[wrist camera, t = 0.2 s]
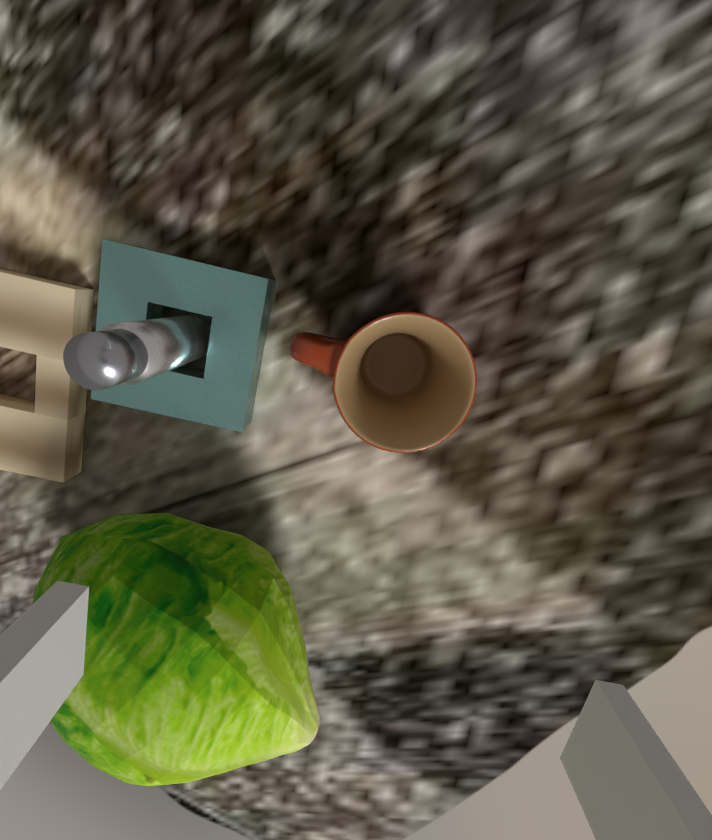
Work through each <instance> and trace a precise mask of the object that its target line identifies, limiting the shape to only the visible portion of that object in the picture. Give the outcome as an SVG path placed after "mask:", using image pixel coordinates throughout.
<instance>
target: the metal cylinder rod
mask: <svg viewBox="0 0 712 840" xmlns="http://www.w3.org/2000/svg"><path fill="white" fill-rule="evenodd" d="M209 337H210V328H209V326H208V325H207V323H206V322H205V321H203V320H202V319H200V318H199V317H196V316H193V315H184V316H175V317H166V318H158V319H149V320H140V321H131V322H122V323H114V324H109V325H106V326H104V327H103V328H101V329H100V330H99V331H95V332H88V333H82V334H78V335H76V336H74V337H73V338H71V339H70V340H69V341H68V343H67V344H66V346H65V348H64V352H63V362H64V366H65V369H66V371H67V373H68V374H69V376H70V377H71V378H72V380H73V381H75V382H76V383H77V384H78V385H80V386H82V387H83V388H86V389H89V390H94V391H100V390H105V389H108V388H111V387H113V386H116V385H119V384H120V385H133V384H136V383H139V382H141V381H144V380H146V379H149V378H151V377H154V376H156V375H159V374H161V373H164V372H167V371H169V370H172V369H174V368H177V367H179V366H182V365H184V364H187V363H189V362H192V361H194V360H197V359H199V358H202V357H204V356H205V355H206V354H207V351H208V344H209Z"/></svg>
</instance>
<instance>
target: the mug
mask: <svg viewBox="0 0 712 840" xmlns="http://www.w3.org/2000/svg"><path fill="white" fill-rule="evenodd" d="M289 353H290V355H291V357H292V358H294V359H295V360H297V361H299V362H301V363H304V364H306V365H309V366H312V367H314V368H317V369H319V370H320V371H322V372H323V373H324V374H326V375H327V376H329V377H331V378H333V394H334V398H335V401H336V404H337V407H338V410H339V412H340V414H341V416H342V418H343V419H344V421H345V423H346V424H347V425H348V427H349V428H350V429H351V430H352V431H353V432H354V433H355V434H356V435H357V436H358V437H359V438H361V439H362V440H363V441H365V442H367V443H368V444H370V445H372V446H374V447H376V448H379V449H382V450H386V451H390V452H399V453H409V452H416V451H421V450H424V449H428V448H430V447H433V446H435V445H437V444H439V443H441V442H442V441H444V440H445V439H447V438H448V437H449V436H450V435H452V434H453V433H454V432H455V431H456V430H457V429H458V428H459V427H460V425H461V424H462V423H463V421H464V420H465V419H466V417H467V415H468V413H469V411H470V409H471V407H472V404H473V401H474V398H475V394H476V387H477V374H476V367H475V363H474V359H473V357H472V354H471V352H470V350H469V348H468V346H467V344H466V343H465V341H464V340H463V338H462V337H461V336H460V335H459V334H458V333H457V332H456V331H455V330H454V329H453V328H452V327H451V326H449V325H448V324H446V323H445V322H443V321H442V320H440V319H438V318H435V317H433V316H430V315H427V314H423V313H418V312H397V313H391V314H387V315H384V316H381V317H379V318H377V319H374V320H372V321H371V322H369V323H367V324H366V325H364V326H363V327H361V328H360V329H359V330H358V331H356V332H355V333H354V334H353V335H352V336H351V337H350V338H349V339H346V338H332V337H326V336H322V335H318V334H314V333H308V332H298V333H296V334H294V336H293V337H292V340H291V344H290V348H289Z"/></svg>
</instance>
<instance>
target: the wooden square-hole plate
mask: <svg viewBox="0 0 712 840" xmlns="http://www.w3.org/2000/svg"><path fill="white" fill-rule="evenodd" d="M93 300H94V290H93V289H89V288H84V287H80V286H76V285H72V284H67V283H63V282H59V281H55V280H50V279H46V278H42V277H38V276H33V275H29V274H25V273H21V272H16V271H12V270H8V269H4V268H0V347H4V348H8V349H13V350H17V351H22V352H26V353H31V354H35V355H37V360H36V387H35V401H31V400H26V399H22V398H17V397H13V396H8V395H4V394H0V470H5V471H9V472H14V473H19V474H24V475H29V476H33V477H38V478H43V479H48V480H53V481H57V482H62V483H64V482H66V481H67V480H69V479H70V478H72V477H74V476H75V475H77V474H78V473H80V472H81V471H82V457H83V443H84V428H85V414H86V400H87V389H86V388H83V387H82V386H80V385H78V384H77V383H76V382H75V381H73V380H72V378H71V377H70V376H69V374H68V373H67V371H66V369H65V366H64V362H63V352H64V348H65V346H66V344H67V343H68V341H69V340H70V339H71V338H73V337H74V336H76V335H78V334H82V333H88V332H91V328H92V314H93Z"/></svg>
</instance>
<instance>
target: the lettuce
mask: <svg viewBox="0 0 712 840" xmlns="http://www.w3.org/2000/svg"><path fill="white" fill-rule="evenodd" d="M57 581H62V582H68V583H73V584H79V585H84V586H89V597H88V612H87V628H86V644H85V660H84V675H83V676H82V678H81V679H80V680H79V682H78V683H77V685H76V686H75V687H74V689H73V690H72V691H71V693H70V694H69V696H68V697H67V698H66V700H65V701H64V703H63V704H62V705H61V707H60V708H59V709H58V711H57V712H56V714H55V715H54V716H53V718H52V719H51V721H50V722H51V723H52V725H53V726H54V727H55V729H56V730H57V732H58V733H59V734H60V736H61V737H62V739H63V740H64V741H65V742H66V743H67V744H69V745H70V746H71V747H72V748H73V749H74V750H75V751H76V752H78V753H79V754H80V755H81V756H82V757H83V758H84V759H86V760H87V761H88V762H89V763H90V764H91V765H92V766H94V767H95V768H97V769H99V770H101V771H103V772H106V773H107V774H109V775H112V776H114V777H116V778H118V779H120V780H122V781H124V782H126V783H129V784H136V785H143V786H154V785H165V784H177V783H187V782H191V781H194V780H198V779H202V778H205V777H209V776H213V775H217V774H220V773H224V772H228V771H231V770H234V769H237V768H240V767H243V766H246V765H250V764H254V763H258V762H262V761H265V760H269V759H272V758H275V757H277V756H280V755H284V754H288V753H292V752H296V751H298V750H299V749H301V748H303V747H305V746H307V745H309V744H310V743H311V742H312V740H313V739H314V737H315V736H316V733H317V731H318V728H319V714H318V710H317V705H316V701H315V697H314V692H313V688H312V683H311V678H310V674H309V669H308V661H307V654H306V646H305V642H304V638H303V635H302V631H301V627H300V623H299V619H298V615H297V611H296V607H295V603H294V600H293V596H292V592H291V589H290V586H289V584H288V583H287V581H286V579H285V578H284V576H283V574H282V573H281V571H280V569H279V568H278V566H277V564H276V563H275V561H274V559H273V558H272V556H271V554H270V553H269V551H268V550H267V549H265V548H264V547H262V546H260V545H259V544H257V543H255V542H253V541H252V540H250V539H248V538H246V537H245V536H243V535H241V534H237V533H233V532H229V531H225V530H221V529H217V528H213V527H208V526H205V525H202V524H199V523H196V522H193V521H191V520H188V519H185V518H182V517H179V516H176V515H173V514H170V513H148V514H122V515H114V516H112V517H109V518H107V519H104V520H102V521H99V522H97V523H95V524H92V525H90V526H87V527H85V528H82V529H80V530H77V531H75V532H73V533H70V534H68V535H65V536H63V537H62V538H61V540H60V542H59V544H58V546H57V548H56V550H55V552H54V553H53V555H52V557H51V559H50V561H49V563H48V565H47V567H46V569H45V571H44V573H43V575H42V576H41V578H40V580H39V582H38V584H37V586H36V588H35V593H34V601H33V603H35V602H36V601H37V600H38V599H39V598H40V597H41V596H42V595H43V594H44V593H45V592H46V591H47V590H48V589H49V588H50V587H51V586H52V585H53V584H55V583H56V582H57Z"/></svg>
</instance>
